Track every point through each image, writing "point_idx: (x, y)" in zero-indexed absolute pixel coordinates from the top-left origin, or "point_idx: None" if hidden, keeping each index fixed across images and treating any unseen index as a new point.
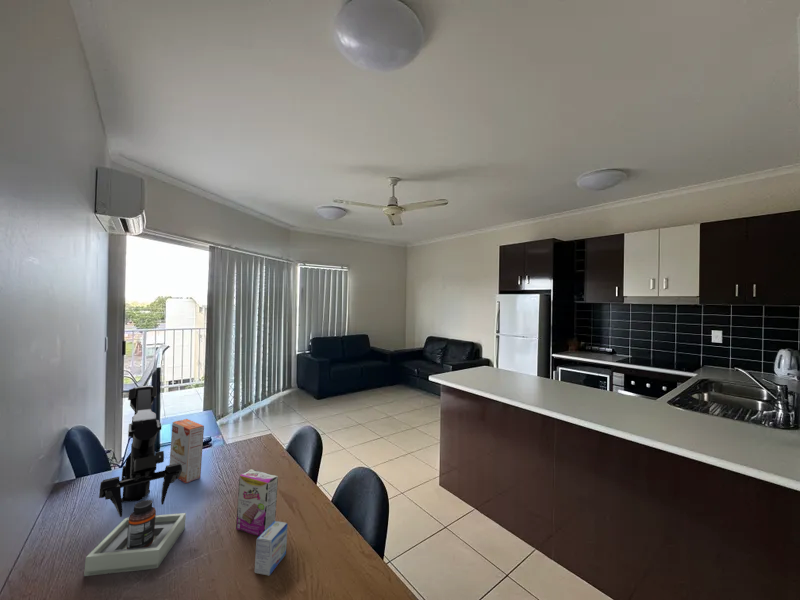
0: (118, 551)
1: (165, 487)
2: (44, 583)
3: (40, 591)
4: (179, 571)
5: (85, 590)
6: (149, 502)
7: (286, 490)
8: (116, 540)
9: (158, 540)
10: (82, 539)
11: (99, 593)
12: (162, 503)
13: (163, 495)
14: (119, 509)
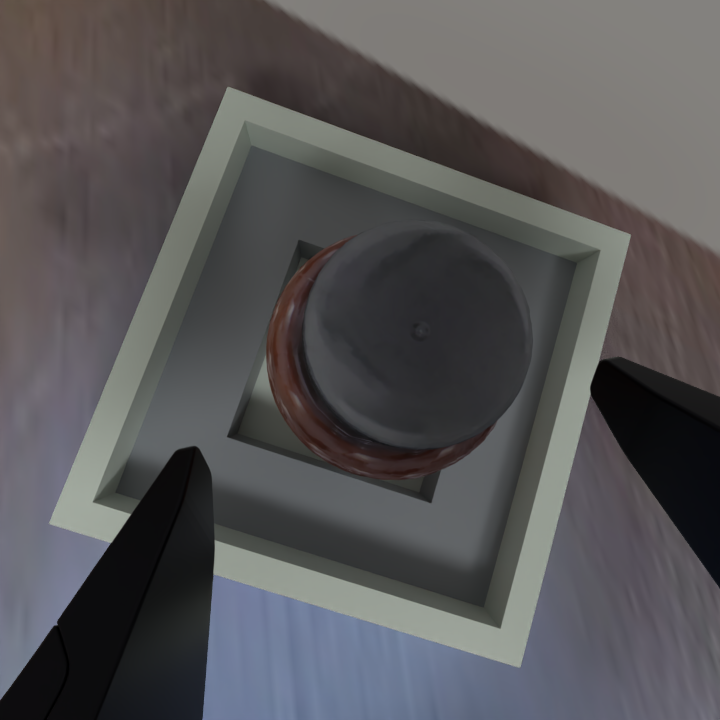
0: (466, 201)
1: (71, 679)
2: (704, 304)
3: (697, 253)
4: (143, 77)
5: (526, 163)
6: (341, 323)
7: None
8: (504, 419)
9: (251, 284)
10: (679, 646)
11: (466, 112)
12: (192, 446)
13: (155, 524)
14: (684, 390)
